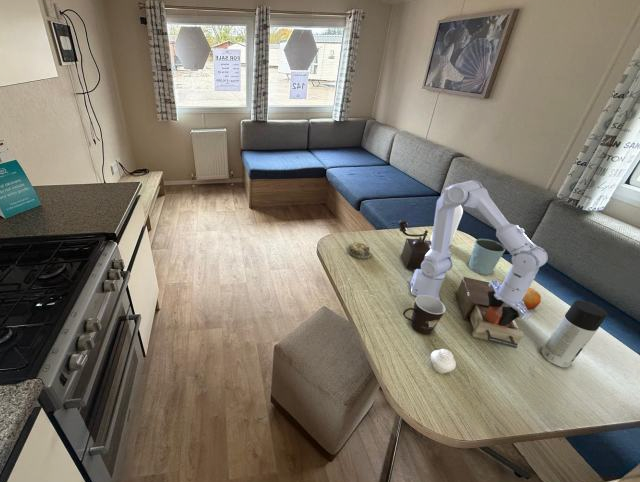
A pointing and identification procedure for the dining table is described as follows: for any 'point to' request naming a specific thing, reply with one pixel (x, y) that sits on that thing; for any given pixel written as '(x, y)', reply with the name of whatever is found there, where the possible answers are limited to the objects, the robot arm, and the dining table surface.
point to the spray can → (573, 333)
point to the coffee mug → (425, 314)
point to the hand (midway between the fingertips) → (497, 318)
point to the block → (494, 315)
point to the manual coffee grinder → (414, 248)
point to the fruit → (531, 299)
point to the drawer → (494, 329)
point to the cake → (359, 250)
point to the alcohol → (455, 221)
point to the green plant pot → (485, 256)
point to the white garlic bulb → (443, 361)
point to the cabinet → (473, 295)
